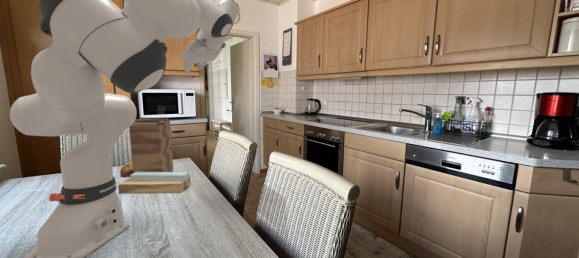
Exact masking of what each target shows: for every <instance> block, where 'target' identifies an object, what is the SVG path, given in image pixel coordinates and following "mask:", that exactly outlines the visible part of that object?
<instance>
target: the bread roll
mask: <svg viewBox="0 0 579 258" xmlns="http://www.w3.org/2000/svg"><path fill="white" fill-rule="evenodd" d="M119 173H120V176H121V177H122V178H130V175H131V174H133V173H134V172H133V161H132V160H130V161H127V162H125V163H124V164H123V165H122V167H121V168H120V171H119Z"/></svg>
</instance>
